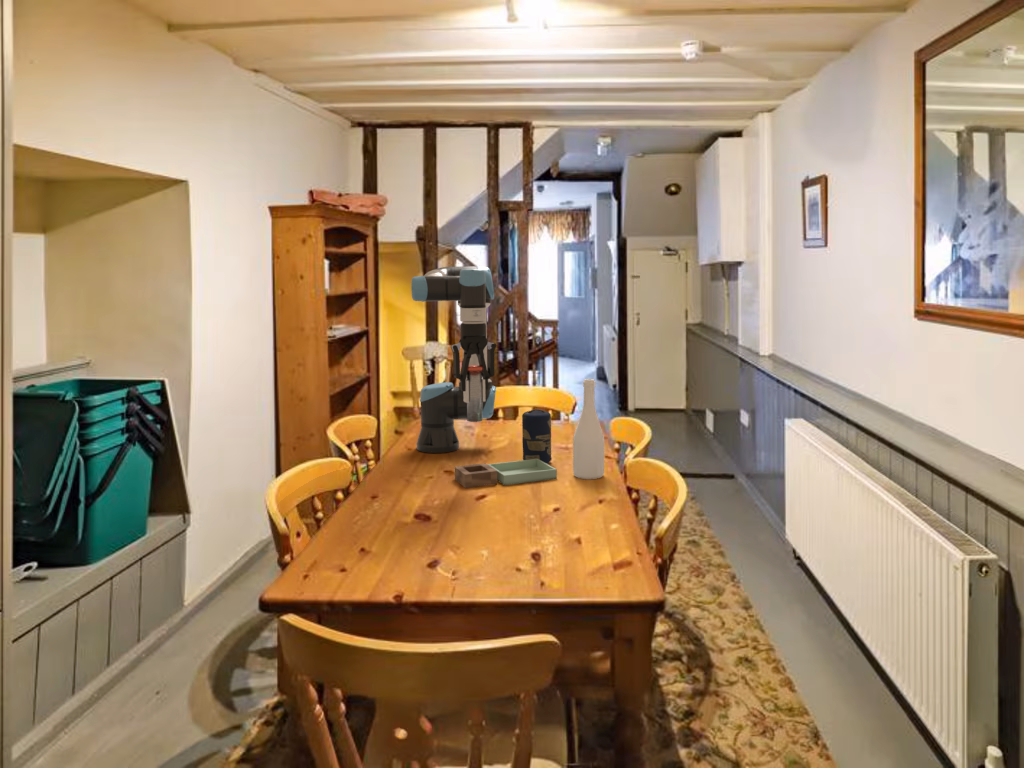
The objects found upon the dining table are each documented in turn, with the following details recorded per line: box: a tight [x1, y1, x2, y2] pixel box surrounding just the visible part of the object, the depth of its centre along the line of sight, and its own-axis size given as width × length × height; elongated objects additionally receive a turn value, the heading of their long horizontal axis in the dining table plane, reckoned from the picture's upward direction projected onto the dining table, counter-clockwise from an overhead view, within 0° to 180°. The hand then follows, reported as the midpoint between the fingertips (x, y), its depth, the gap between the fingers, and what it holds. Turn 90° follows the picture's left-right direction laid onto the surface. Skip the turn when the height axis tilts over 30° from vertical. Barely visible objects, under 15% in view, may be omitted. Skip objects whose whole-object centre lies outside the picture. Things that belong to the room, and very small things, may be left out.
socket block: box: [454, 462, 498, 489], centre depth 224 cm, size 10×10×4 cm
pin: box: [466, 365, 483, 423], centre depth 220 cm, size 6×6×16 cm
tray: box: [486, 459, 558, 486], centre depth 229 cm, size 14×17×3 cm
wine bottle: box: [572, 378, 605, 480], centre depth 227 cm, size 10×10×30 cm
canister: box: [521, 408, 552, 464], centre depth 244 cm, size 10×10×18 cm
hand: (474, 401), depth 220 cm, fingers closed on pin, 4 cm apart
